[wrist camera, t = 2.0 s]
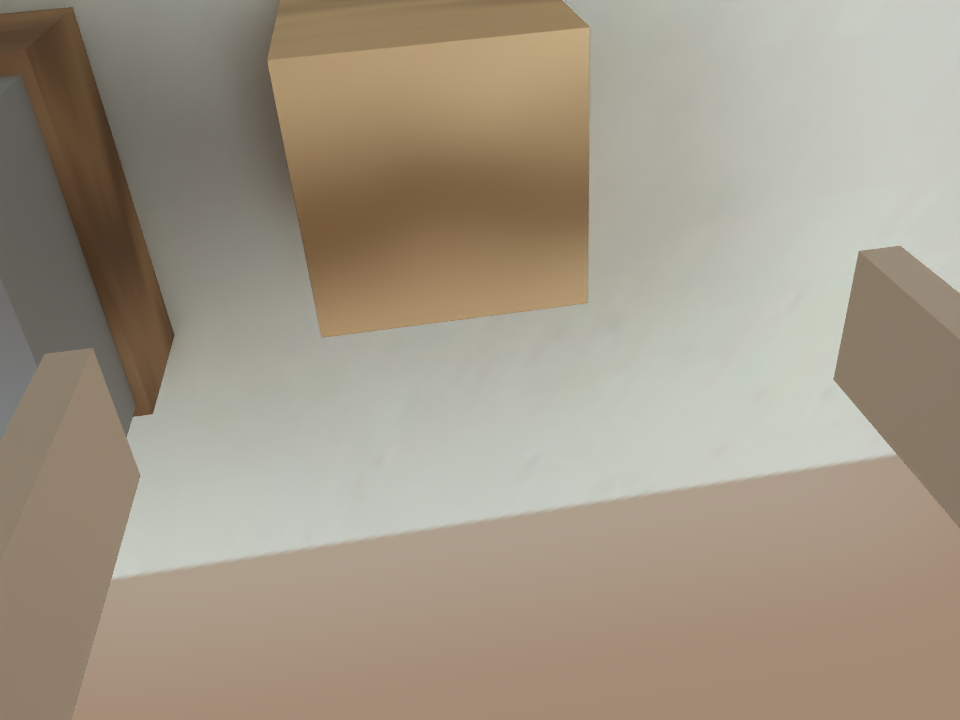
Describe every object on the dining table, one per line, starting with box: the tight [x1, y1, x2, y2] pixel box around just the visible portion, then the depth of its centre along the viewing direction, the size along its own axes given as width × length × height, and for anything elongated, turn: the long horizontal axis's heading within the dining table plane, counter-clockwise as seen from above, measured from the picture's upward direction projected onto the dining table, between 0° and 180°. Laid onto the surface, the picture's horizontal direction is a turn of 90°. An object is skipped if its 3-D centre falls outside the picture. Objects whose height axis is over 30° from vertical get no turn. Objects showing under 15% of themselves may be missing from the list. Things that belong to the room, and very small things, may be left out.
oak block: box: [267, 0, 590, 338], centre depth 24 cm, size 7×7×8 cm
